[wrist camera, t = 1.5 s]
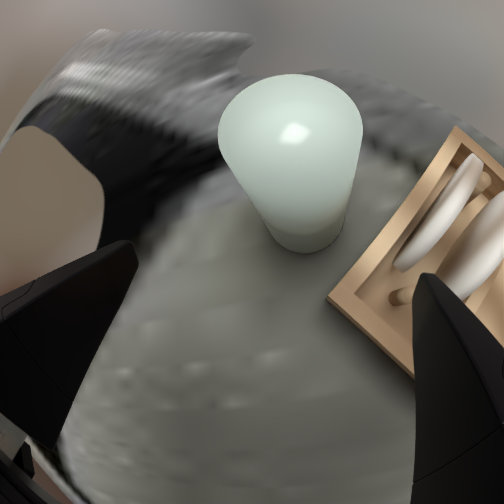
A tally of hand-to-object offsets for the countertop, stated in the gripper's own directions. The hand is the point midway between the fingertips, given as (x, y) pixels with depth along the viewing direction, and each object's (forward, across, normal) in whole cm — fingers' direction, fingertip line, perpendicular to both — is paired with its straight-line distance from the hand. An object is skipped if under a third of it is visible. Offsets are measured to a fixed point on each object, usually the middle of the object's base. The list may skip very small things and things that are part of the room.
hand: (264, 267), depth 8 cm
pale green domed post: (+12, 0, +5) cm, 13 cm away
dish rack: (+9, -14, +8) cm, 18 cm away
